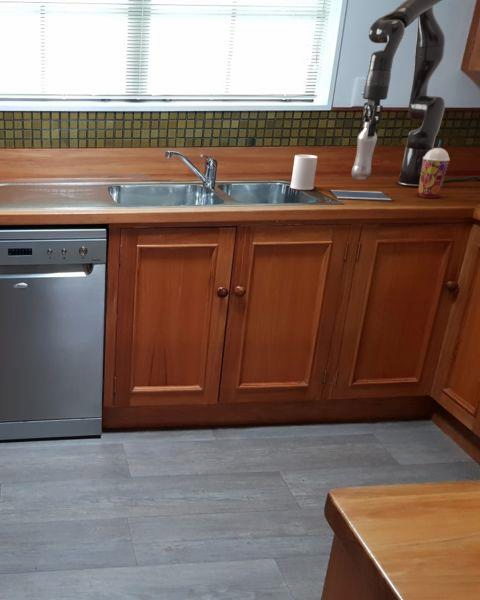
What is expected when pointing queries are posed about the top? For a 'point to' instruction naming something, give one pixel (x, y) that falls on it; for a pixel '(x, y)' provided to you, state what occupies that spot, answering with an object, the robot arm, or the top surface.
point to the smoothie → (433, 172)
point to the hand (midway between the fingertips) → (368, 135)
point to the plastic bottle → (364, 154)
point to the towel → (360, 195)
